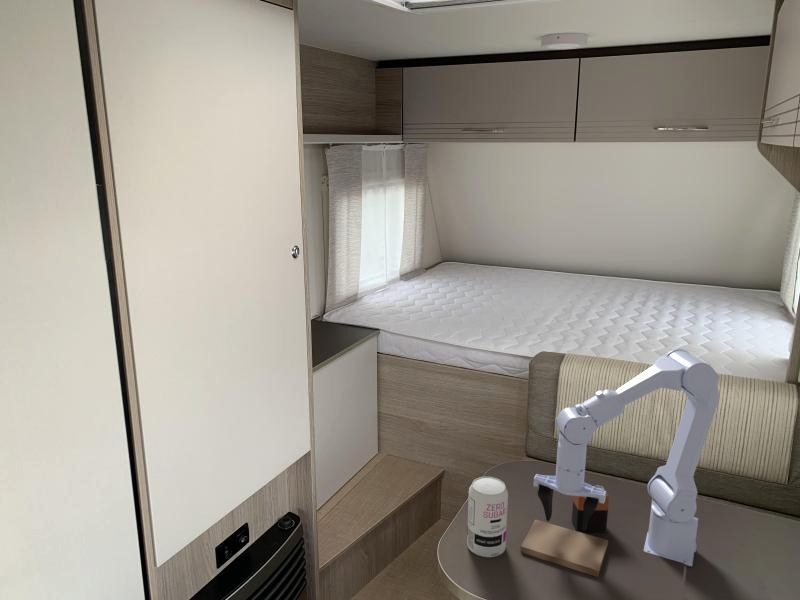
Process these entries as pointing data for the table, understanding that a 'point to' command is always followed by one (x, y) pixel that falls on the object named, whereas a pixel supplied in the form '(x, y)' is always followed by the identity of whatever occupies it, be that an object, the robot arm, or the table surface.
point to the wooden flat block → (565, 547)
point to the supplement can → (487, 517)
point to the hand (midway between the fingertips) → (566, 523)
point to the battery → (597, 518)
